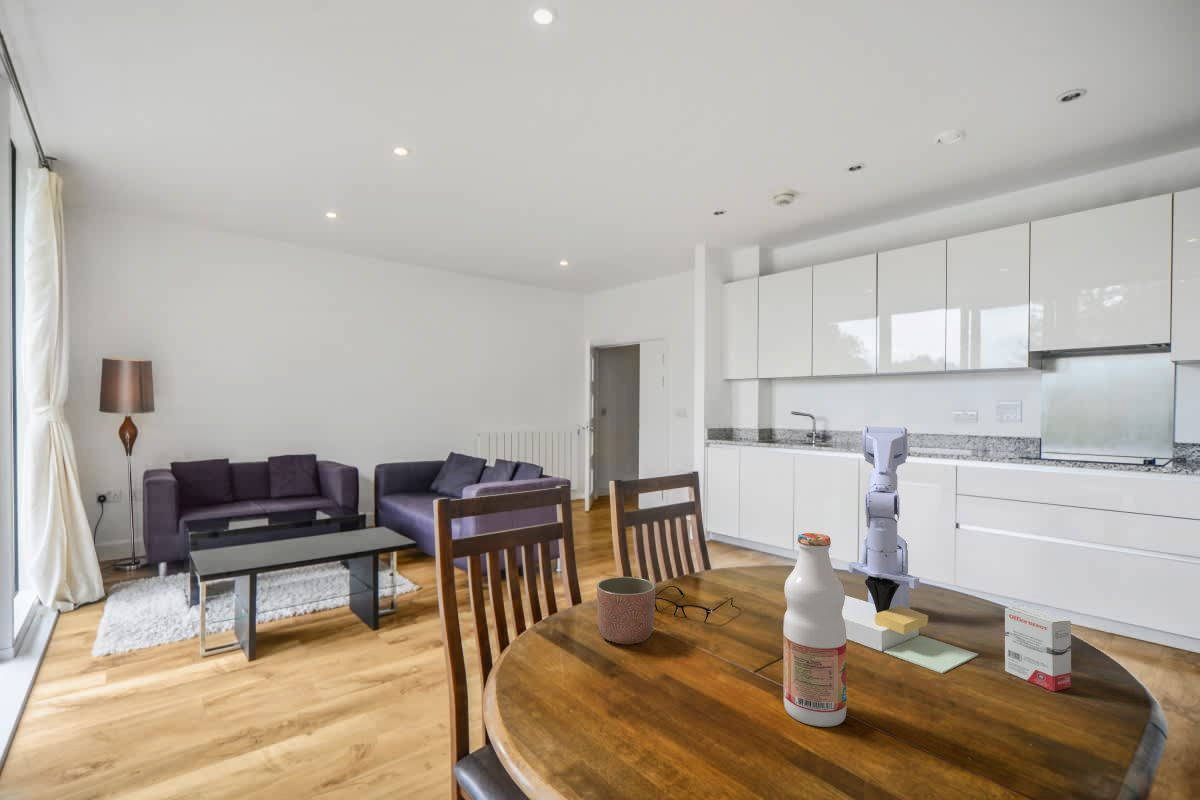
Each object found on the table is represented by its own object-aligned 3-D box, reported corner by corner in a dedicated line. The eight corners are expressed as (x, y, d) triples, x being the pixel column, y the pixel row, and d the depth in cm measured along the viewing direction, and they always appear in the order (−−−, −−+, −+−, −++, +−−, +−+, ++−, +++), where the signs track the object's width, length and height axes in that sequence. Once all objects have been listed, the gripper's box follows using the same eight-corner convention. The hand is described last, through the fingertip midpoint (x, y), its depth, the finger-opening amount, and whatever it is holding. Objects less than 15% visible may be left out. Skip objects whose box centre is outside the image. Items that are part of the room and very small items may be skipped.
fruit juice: (772, 701, 96) (772, 531, 96) (823, 694, 98) (822, 528, 98) (804, 732, 87) (804, 544, 87) (859, 724, 89) (859, 541, 89)
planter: (587, 643, 119) (587, 590, 119) (609, 622, 130) (609, 574, 131) (645, 653, 114) (645, 597, 114) (662, 630, 126) (662, 580, 126)
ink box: (1072, 687, 100) (1072, 619, 101) (1053, 692, 99) (1053, 622, 99) (1022, 667, 109) (1021, 603, 109) (1003, 671, 107) (1003, 606, 107)
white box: (827, 606, 141) (827, 589, 141) (918, 636, 123) (918, 617, 123) (789, 617, 134) (789, 600, 134) (881, 651, 115) (881, 631, 115)
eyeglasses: (647, 612, 138) (647, 595, 138) (678, 595, 151) (678, 579, 151) (712, 627, 129) (712, 609, 129) (738, 607, 142) (738, 591, 142)
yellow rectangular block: (898, 614, 124) (899, 605, 124) (927, 625, 119) (928, 615, 119) (874, 623, 119) (875, 613, 119) (903, 634, 114) (904, 624, 114)
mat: (921, 636, 123) (921, 635, 123) (978, 655, 113) (978, 653, 113) (884, 652, 115) (884, 650, 115) (942, 673, 106) (942, 672, 106)
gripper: (840, 544, 126) (840, 607, 126) (906, 559, 114) (906, 628, 114) (859, 540, 130) (859, 601, 130) (924, 554, 118) (925, 621, 118)
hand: (882, 614), depth 122 cm, fingers closed
